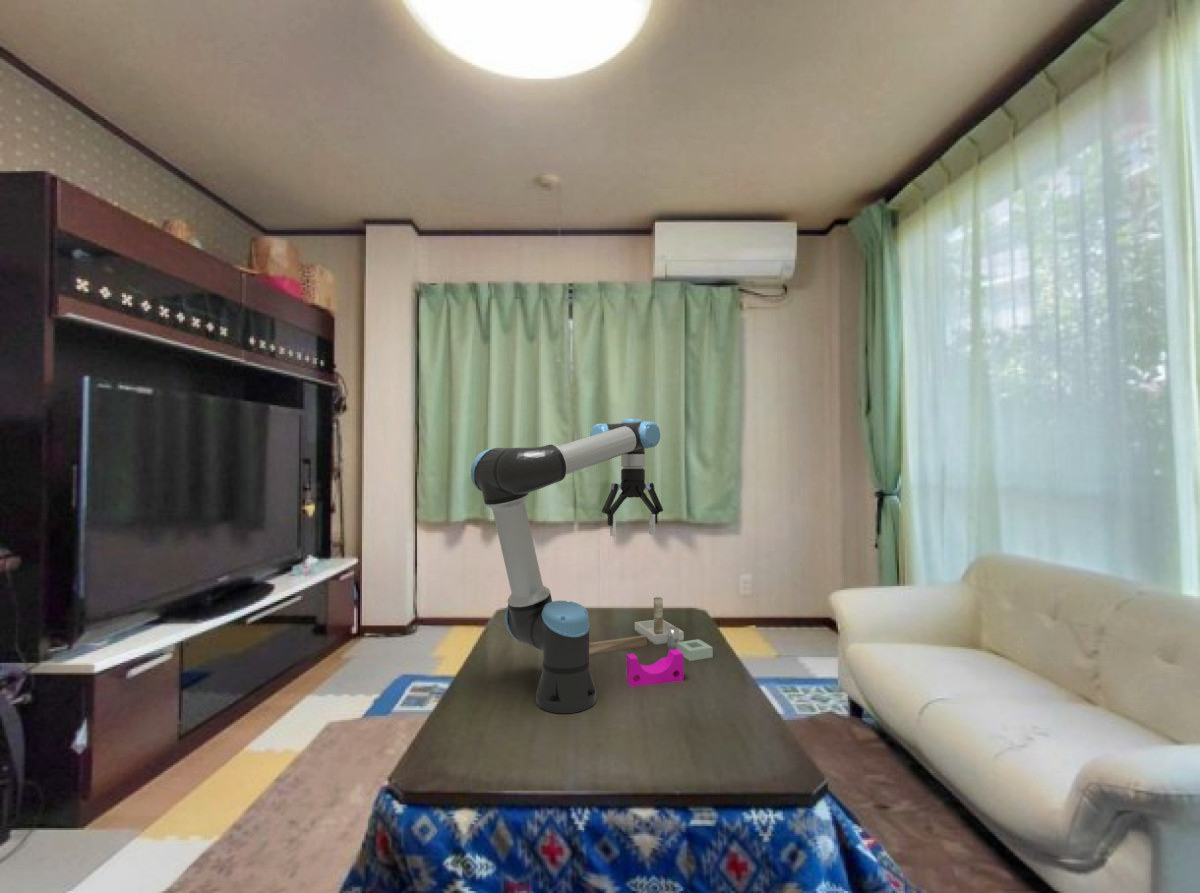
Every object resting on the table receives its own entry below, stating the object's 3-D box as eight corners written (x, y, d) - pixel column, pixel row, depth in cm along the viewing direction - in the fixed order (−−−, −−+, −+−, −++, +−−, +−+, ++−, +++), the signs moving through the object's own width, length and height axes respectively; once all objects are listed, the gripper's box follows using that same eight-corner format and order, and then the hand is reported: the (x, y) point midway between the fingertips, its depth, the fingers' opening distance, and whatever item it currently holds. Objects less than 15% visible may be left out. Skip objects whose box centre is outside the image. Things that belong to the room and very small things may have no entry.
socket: (712, 657, 165) (712, 647, 165) (689, 661, 163) (689, 650, 163) (698, 648, 173) (698, 639, 173) (676, 652, 170) (676, 642, 170)
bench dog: (680, 648, 173) (680, 629, 173) (670, 650, 172) (670, 631, 172) (675, 645, 176) (675, 626, 176) (665, 646, 175) (665, 627, 175)
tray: (683, 640, 180) (683, 631, 180) (655, 645, 176) (655, 635, 176) (661, 627, 195) (661, 618, 195) (634, 630, 191) (634, 622, 191)
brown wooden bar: (647, 645, 176) (647, 636, 176) (582, 655, 168) (582, 645, 168) (645, 644, 177) (645, 635, 177) (581, 653, 169) (581, 643, 169)
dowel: (664, 634, 185) (664, 599, 185) (656, 635, 184) (656, 600, 184) (660, 632, 188) (659, 597, 188) (652, 633, 186) (652, 597, 187)
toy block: (674, 672, 154) (674, 646, 155) (683, 681, 148) (683, 653, 149) (623, 678, 151) (623, 650, 151) (630, 687, 145) (630, 659, 145)
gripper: (662, 467, 181) (662, 532, 180) (591, 467, 172) (591, 535, 171) (673, 468, 174) (673, 534, 173) (600, 468, 165) (600, 538, 164)
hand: (632, 535), depth 172 cm, fingers open, 13 cm apart
